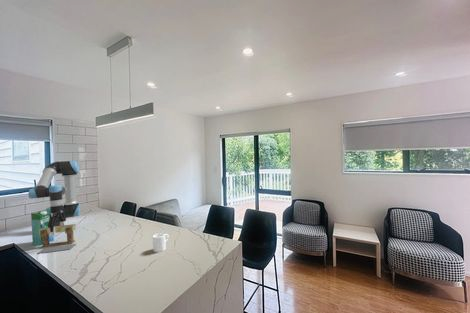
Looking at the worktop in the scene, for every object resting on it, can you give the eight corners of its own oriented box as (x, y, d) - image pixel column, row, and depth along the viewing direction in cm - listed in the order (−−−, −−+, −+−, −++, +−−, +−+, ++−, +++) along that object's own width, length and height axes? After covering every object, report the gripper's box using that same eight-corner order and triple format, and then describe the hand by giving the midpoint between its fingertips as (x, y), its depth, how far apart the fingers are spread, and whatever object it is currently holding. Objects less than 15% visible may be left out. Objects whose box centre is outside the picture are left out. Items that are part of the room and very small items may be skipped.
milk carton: (41, 245, 165) (40, 213, 165) (32, 244, 167) (31, 213, 166) (53, 240, 174) (52, 210, 173) (45, 240, 175) (43, 210, 175)
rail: (39, 234, 159) (38, 229, 159) (42, 232, 163) (42, 227, 163) (73, 230, 165) (72, 225, 165) (75, 229, 169) (75, 224, 169)
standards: (45, 244, 165) (45, 228, 165) (75, 241, 170) (74, 224, 170) (40, 248, 158) (39, 231, 158) (71, 244, 163) (70, 227, 163)
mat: (44, 248, 157) (44, 248, 157) (76, 244, 162) (76, 243, 162) (37, 254, 149) (36, 253, 149) (70, 249, 154) (70, 248, 154)
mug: (172, 246, 151) (172, 232, 151) (158, 253, 141) (157, 238, 141) (165, 244, 155) (164, 230, 155) (150, 250, 146) (150, 236, 145)
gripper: (59, 202, 175) (60, 228, 175) (40, 209, 151) (41, 239, 151) (70, 201, 177) (71, 227, 177) (52, 208, 153) (54, 237, 153)
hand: (57, 232), depth 164 cm, fingers open, 13 cm apart
